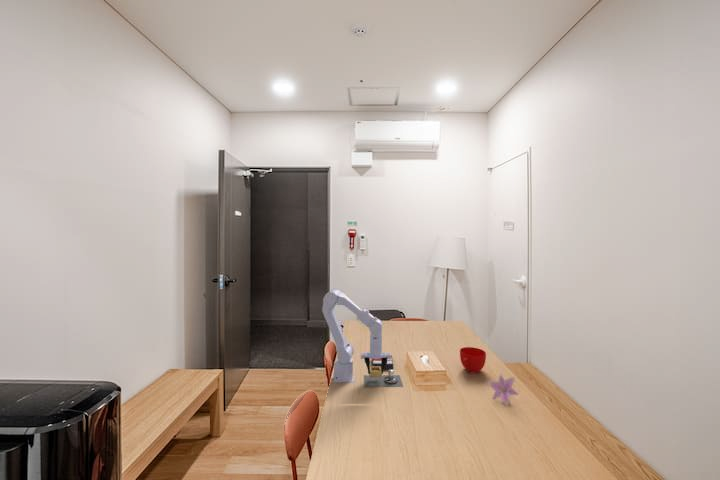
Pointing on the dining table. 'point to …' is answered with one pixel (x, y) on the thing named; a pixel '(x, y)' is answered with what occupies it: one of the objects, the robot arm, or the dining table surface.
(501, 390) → the lily
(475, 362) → the ceramic cup
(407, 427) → the dining table surface
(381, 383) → the mat
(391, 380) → the silver disc with post
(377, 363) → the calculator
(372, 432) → the dining table surface
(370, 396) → the dining table surface
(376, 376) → the bronze square frame
